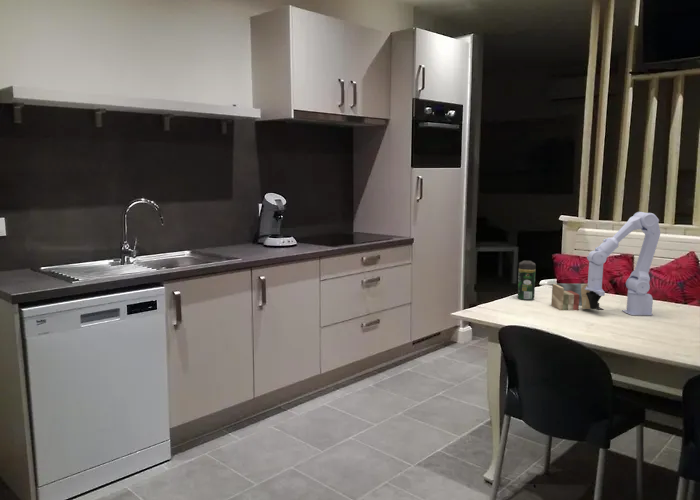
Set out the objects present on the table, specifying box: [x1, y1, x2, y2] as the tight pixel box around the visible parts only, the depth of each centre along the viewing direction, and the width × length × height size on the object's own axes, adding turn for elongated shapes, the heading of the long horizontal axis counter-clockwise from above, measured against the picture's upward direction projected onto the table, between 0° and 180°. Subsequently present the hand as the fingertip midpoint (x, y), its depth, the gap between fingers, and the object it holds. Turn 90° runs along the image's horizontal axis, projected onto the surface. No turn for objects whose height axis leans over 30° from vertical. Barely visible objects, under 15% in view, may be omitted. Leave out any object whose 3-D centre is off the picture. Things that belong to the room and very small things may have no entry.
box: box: [580, 283, 591, 310], centre depth 244 cm, size 5×4×11 cm
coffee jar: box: [517, 260, 537, 301], centre depth 267 cm, size 10×8×19 cm
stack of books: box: [550, 283, 604, 311], centre depth 249 cm, size 20×10×10 cm, turn 91°
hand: (593, 308), depth 240 cm, fingers closed, pressing on box
